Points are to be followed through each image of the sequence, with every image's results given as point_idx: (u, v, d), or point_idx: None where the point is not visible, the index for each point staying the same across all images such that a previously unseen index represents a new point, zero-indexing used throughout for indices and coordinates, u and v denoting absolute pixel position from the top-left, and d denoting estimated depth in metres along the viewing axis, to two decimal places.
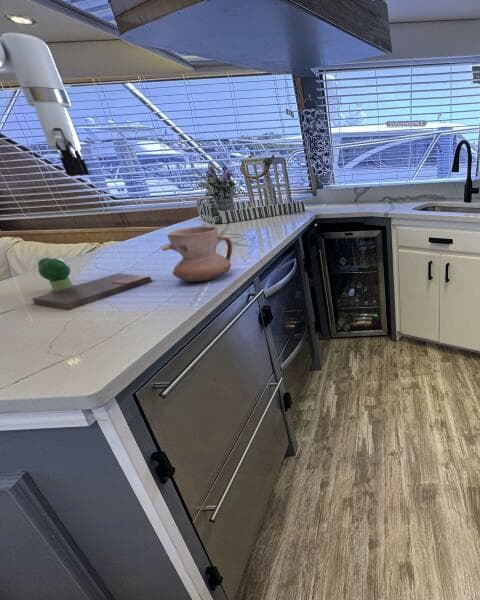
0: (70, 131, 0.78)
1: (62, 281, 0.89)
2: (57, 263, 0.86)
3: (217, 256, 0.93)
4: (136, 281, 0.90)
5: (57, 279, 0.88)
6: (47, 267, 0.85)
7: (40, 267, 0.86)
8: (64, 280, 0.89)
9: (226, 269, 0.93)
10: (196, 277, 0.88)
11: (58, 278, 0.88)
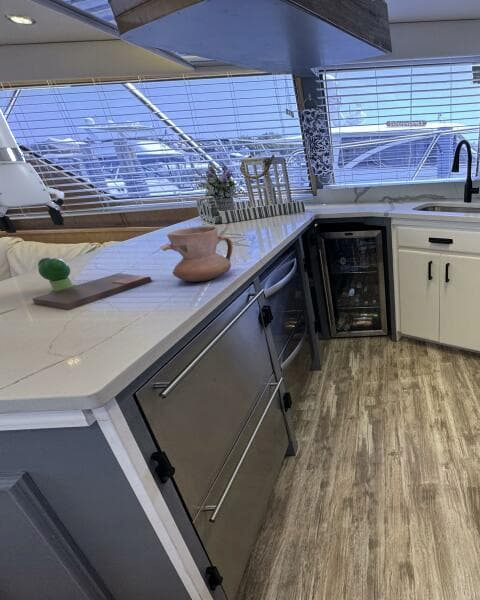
0: None
1: (62, 281, 0.89)
2: (57, 263, 0.86)
3: (217, 256, 0.93)
4: (136, 281, 0.90)
5: (57, 279, 0.88)
6: (47, 267, 0.85)
7: (40, 267, 0.86)
8: (64, 280, 0.89)
9: (226, 269, 0.93)
10: (196, 277, 0.88)
11: (58, 278, 0.88)
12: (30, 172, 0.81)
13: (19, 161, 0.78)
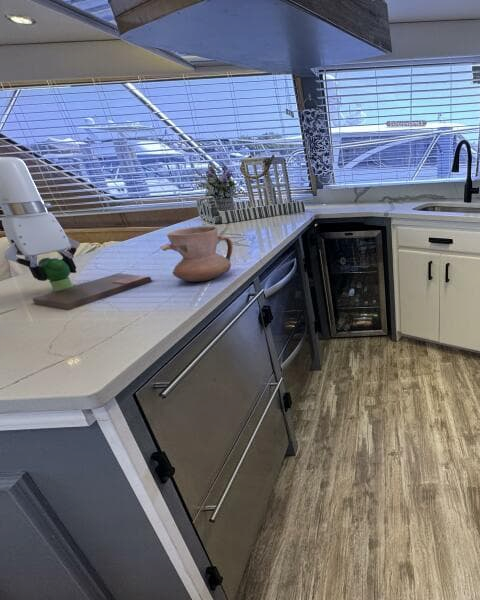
0: (22, 241, 0.81)
1: (62, 281, 0.89)
2: (57, 263, 0.86)
3: (217, 256, 0.93)
4: (136, 281, 0.90)
5: (57, 279, 0.88)
6: (47, 267, 0.85)
7: None
8: (64, 280, 0.89)
9: (226, 269, 0.93)
10: (196, 277, 0.88)
11: (58, 278, 0.88)
12: (52, 221, 0.85)
13: (42, 213, 0.83)
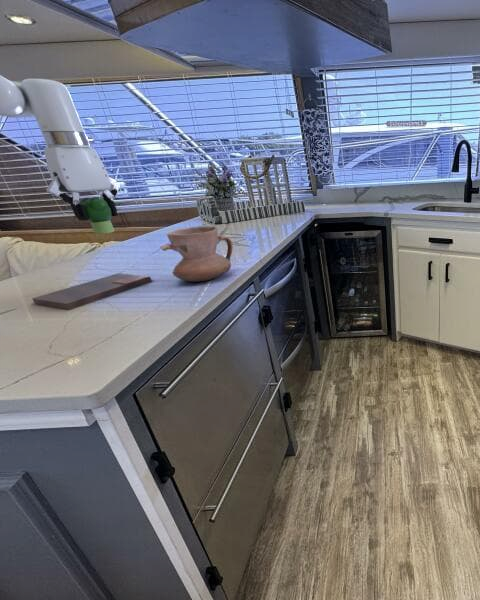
0: (66, 174, 0.75)
1: (104, 223, 0.83)
2: (100, 202, 0.81)
3: (217, 256, 0.93)
4: (136, 281, 0.90)
5: (99, 220, 0.83)
6: (90, 205, 0.80)
7: None
8: (106, 222, 0.84)
9: (226, 269, 0.93)
10: (196, 277, 0.88)
11: (100, 219, 0.83)
12: (94, 157, 0.80)
13: (85, 145, 0.77)
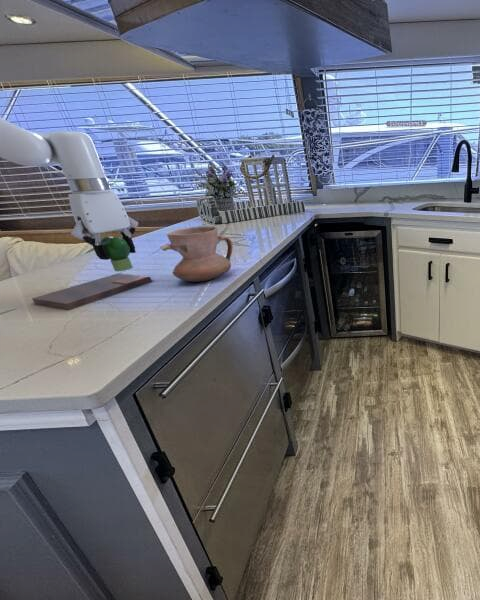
0: (89, 218, 0.80)
1: (123, 260, 0.88)
2: (120, 242, 0.85)
3: (217, 256, 0.93)
4: (136, 281, 0.90)
5: (119, 258, 0.87)
6: (110, 245, 0.84)
7: None
8: (125, 259, 0.88)
9: (226, 269, 0.93)
10: (196, 277, 0.88)
11: (120, 257, 0.87)
12: (115, 199, 0.84)
13: (107, 190, 0.81)
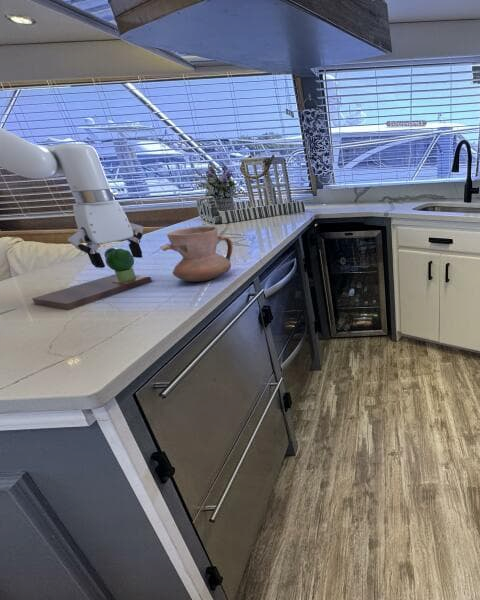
0: (93, 229, 0.81)
1: (127, 271, 0.89)
2: (124, 253, 0.86)
3: (217, 256, 0.93)
4: (136, 281, 0.90)
5: (123, 269, 0.88)
6: (115, 257, 0.86)
7: (107, 257, 0.86)
8: (129, 270, 0.89)
9: (226, 269, 0.93)
10: (196, 277, 0.88)
11: (124, 268, 0.88)
12: (118, 210, 0.85)
13: (111, 201, 0.83)
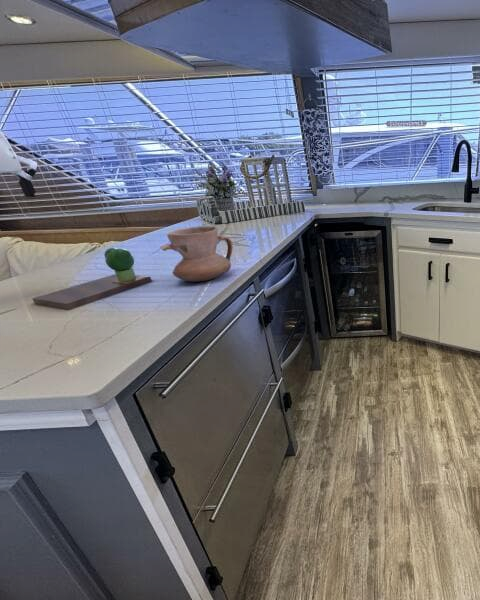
0: None
1: (127, 271, 0.89)
2: (124, 253, 0.86)
3: (217, 256, 0.93)
4: (136, 281, 0.90)
5: (123, 269, 0.88)
6: (115, 257, 0.86)
7: (107, 257, 0.86)
8: (129, 270, 0.89)
9: (226, 269, 0.93)
10: (196, 277, 0.88)
11: (124, 268, 0.88)
12: None
13: None
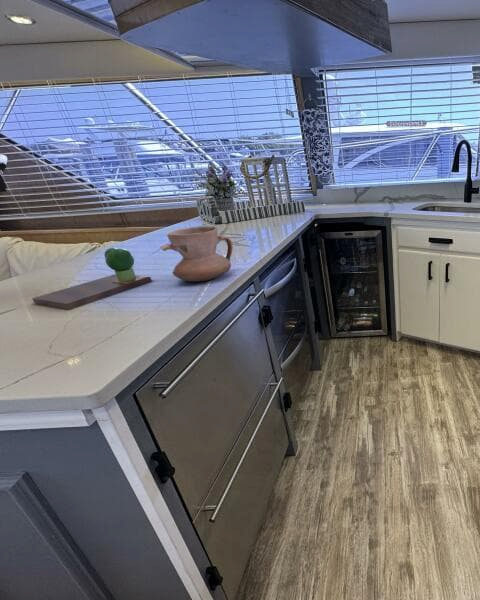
0: None
1: (127, 271, 0.89)
2: (124, 253, 0.86)
3: (217, 256, 0.93)
4: (136, 281, 0.90)
5: (123, 269, 0.88)
6: (115, 257, 0.86)
7: (107, 257, 0.86)
8: (129, 270, 0.89)
9: (226, 269, 0.93)
10: (196, 277, 0.88)
11: (124, 268, 0.88)
12: None
13: None
